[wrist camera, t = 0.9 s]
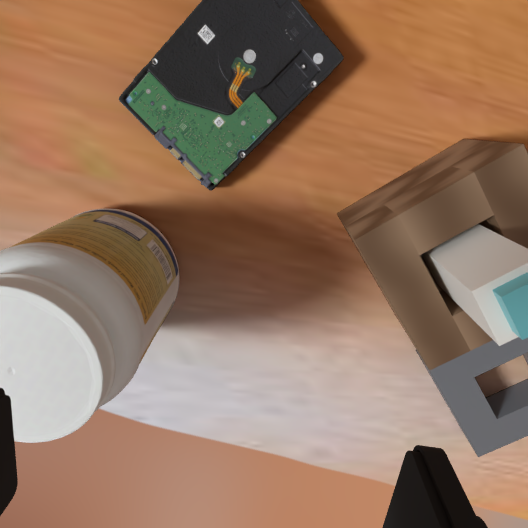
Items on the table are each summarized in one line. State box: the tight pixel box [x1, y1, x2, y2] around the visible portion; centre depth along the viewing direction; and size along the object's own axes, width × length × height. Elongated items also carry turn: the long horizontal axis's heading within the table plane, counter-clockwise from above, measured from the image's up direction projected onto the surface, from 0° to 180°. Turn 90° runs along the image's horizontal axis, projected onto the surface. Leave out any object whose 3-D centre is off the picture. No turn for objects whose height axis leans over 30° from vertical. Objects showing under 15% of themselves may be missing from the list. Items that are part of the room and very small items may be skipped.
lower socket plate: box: [416, 337, 528, 457], centre depth 40 cm, size 12×12×3 cm
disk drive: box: [119, 0, 343, 190], centre depth 33 cm, size 10×3×15 cm
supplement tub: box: [0, 209, 179, 443], centre depth 32 cm, size 12×12×17 cm
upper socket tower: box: [337, 139, 528, 370], centre depth 33 cm, size 12×12×9 cm
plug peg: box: [421, 224, 528, 346], centre depth 28 cm, size 4×4×11 cm
